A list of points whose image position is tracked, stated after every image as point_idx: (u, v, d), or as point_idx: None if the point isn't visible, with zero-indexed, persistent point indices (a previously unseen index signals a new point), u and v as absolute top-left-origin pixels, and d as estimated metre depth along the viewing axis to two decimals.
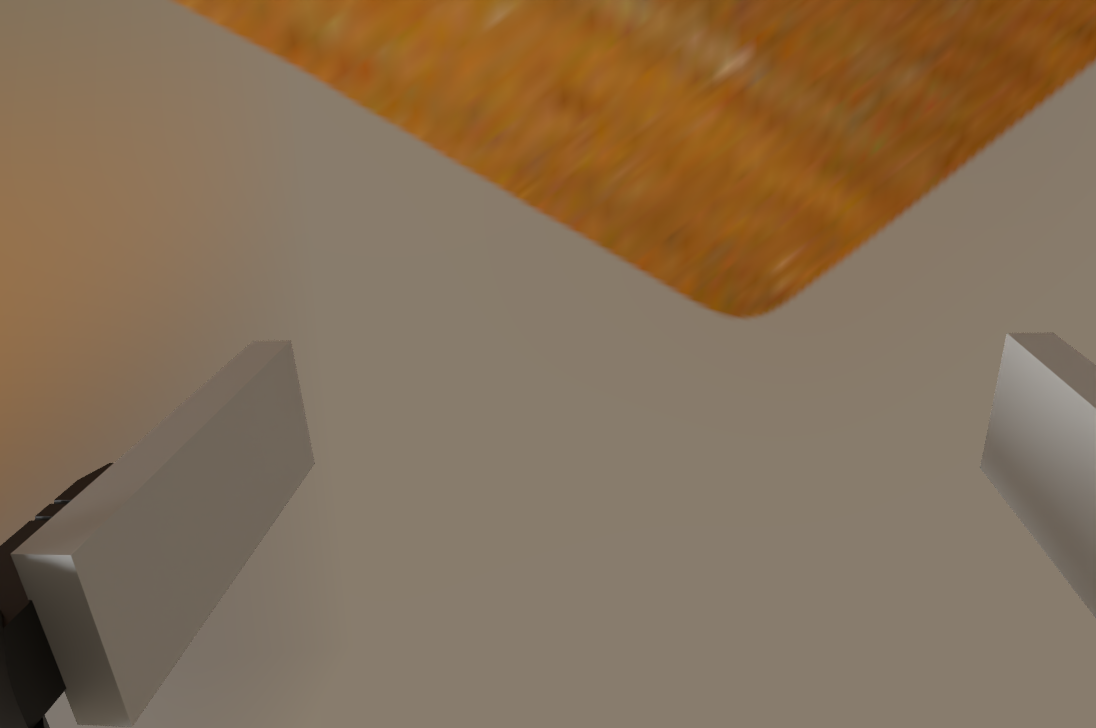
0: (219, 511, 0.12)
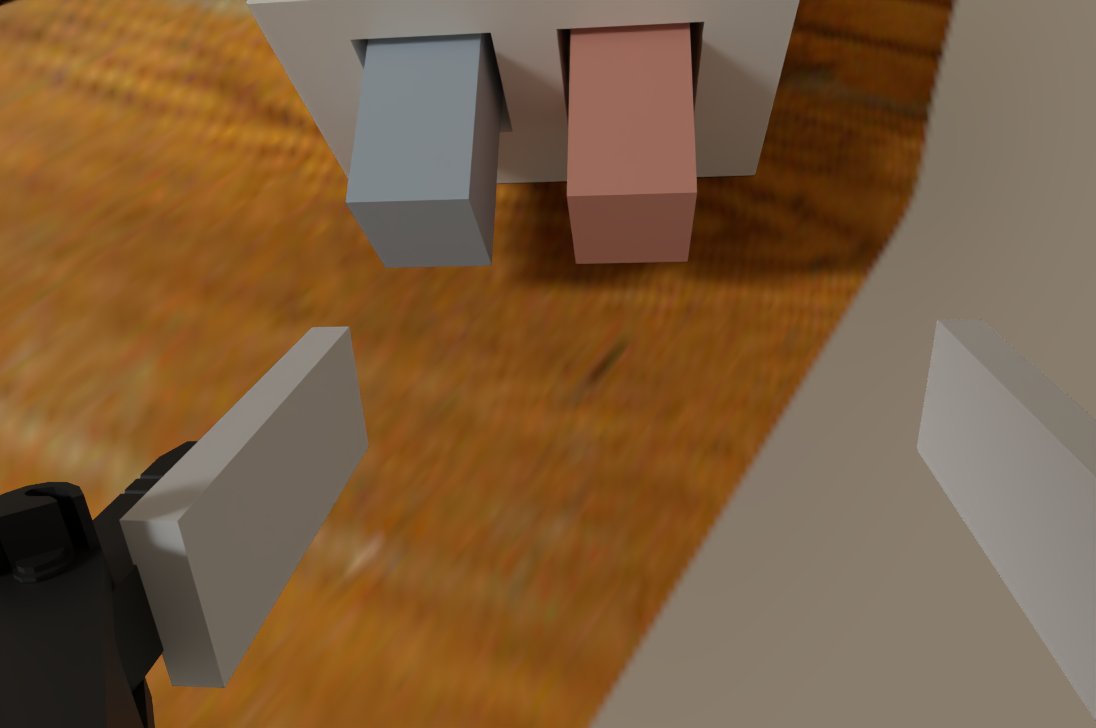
0: (292, 488, 0.13)
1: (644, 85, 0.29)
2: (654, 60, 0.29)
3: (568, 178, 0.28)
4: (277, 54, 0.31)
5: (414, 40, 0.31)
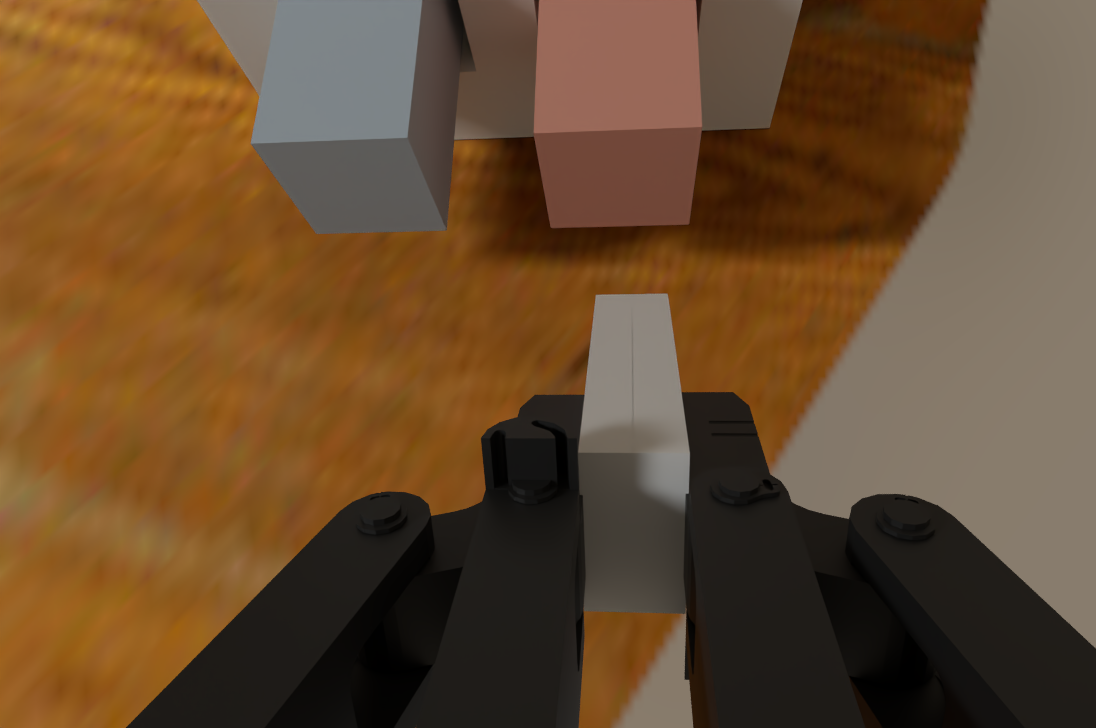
0: None
1: None
2: None
3: (536, 110, 0.22)
4: None
5: None
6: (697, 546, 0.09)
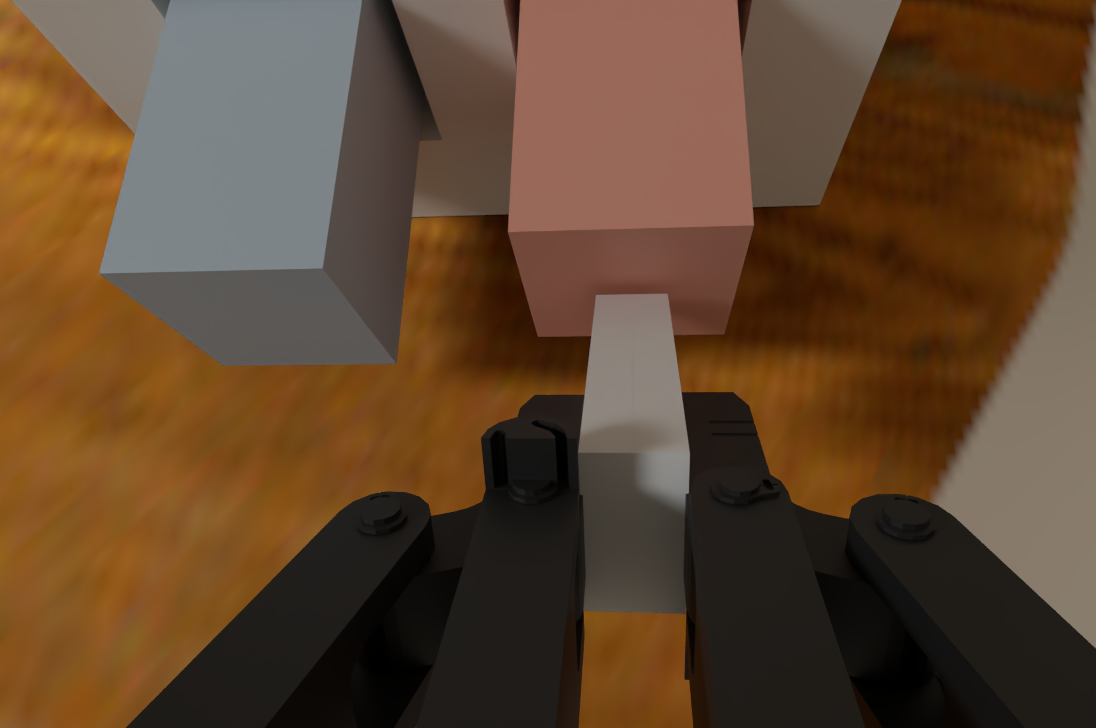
0: None
1: (652, 29, 0.16)
2: None
3: (512, 198, 0.15)
4: (22, 9, 0.18)
5: None
6: (697, 546, 0.09)
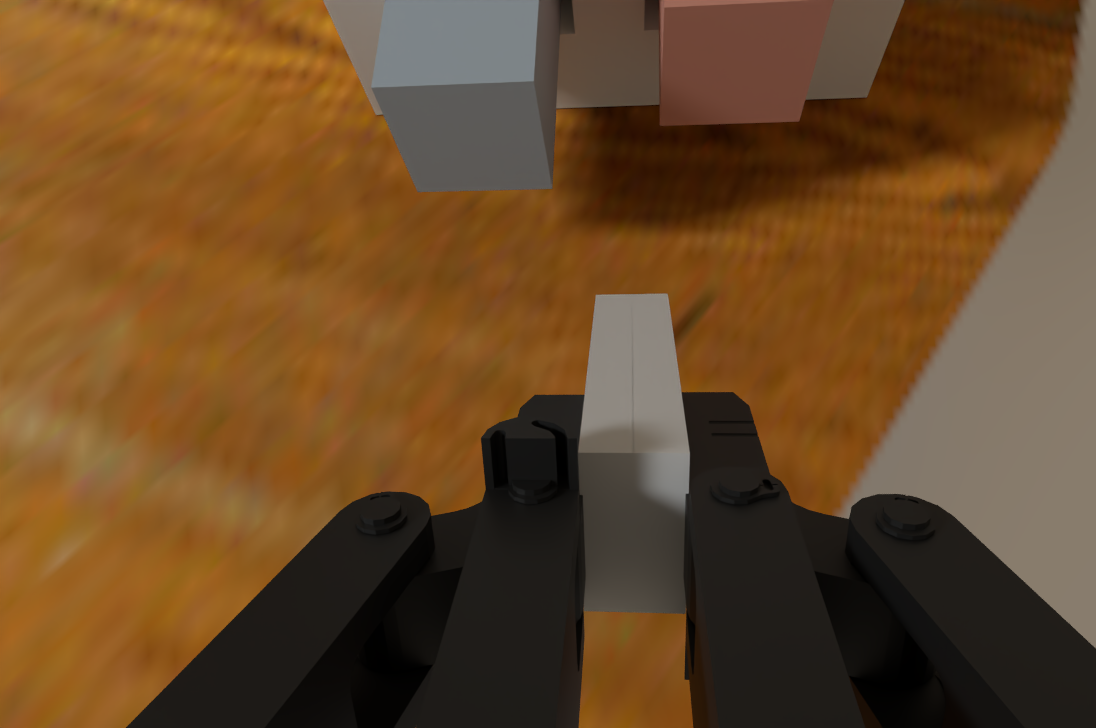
0: None
1: None
2: None
3: None
4: None
5: None
6: (697, 546, 0.09)
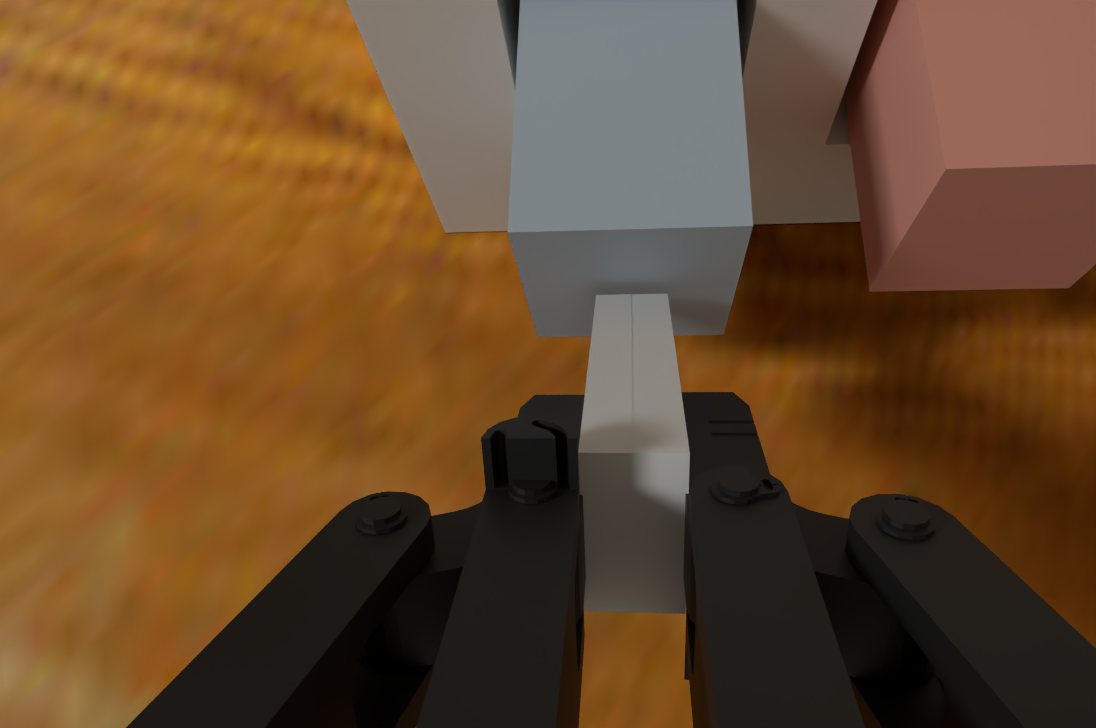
0: None
1: None
2: None
3: (943, 135, 0.15)
4: (353, 11, 0.17)
5: None
6: (697, 546, 0.09)
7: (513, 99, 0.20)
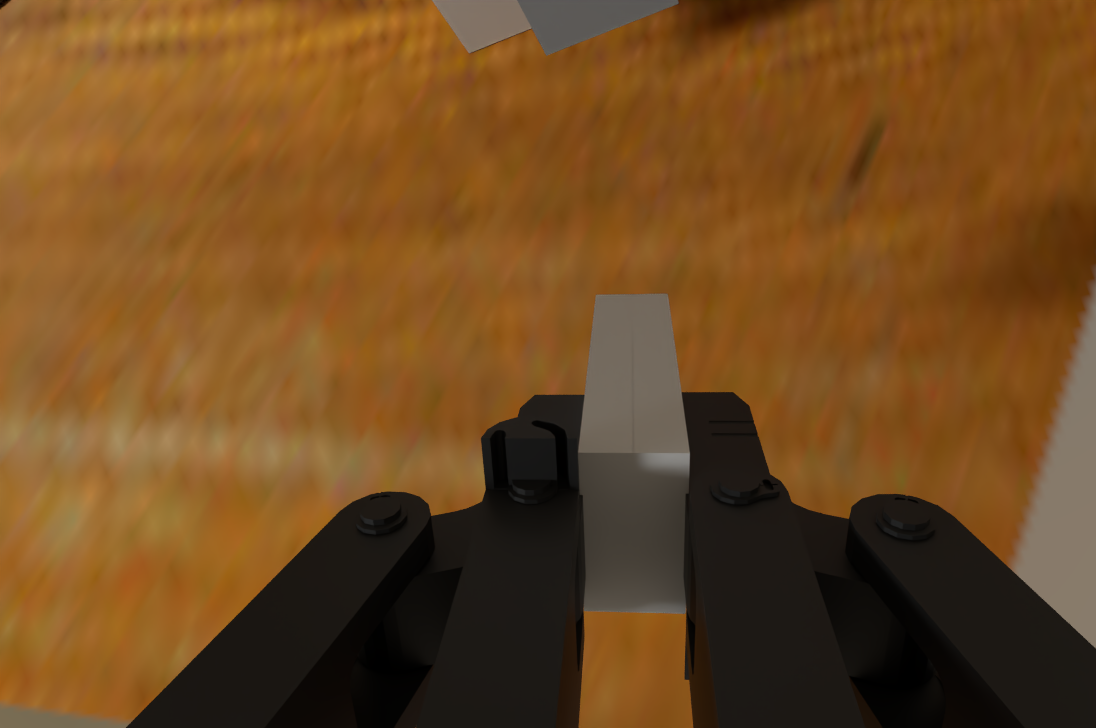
0: None
1: None
2: None
3: None
4: None
5: None
6: (697, 546, 0.09)
7: None
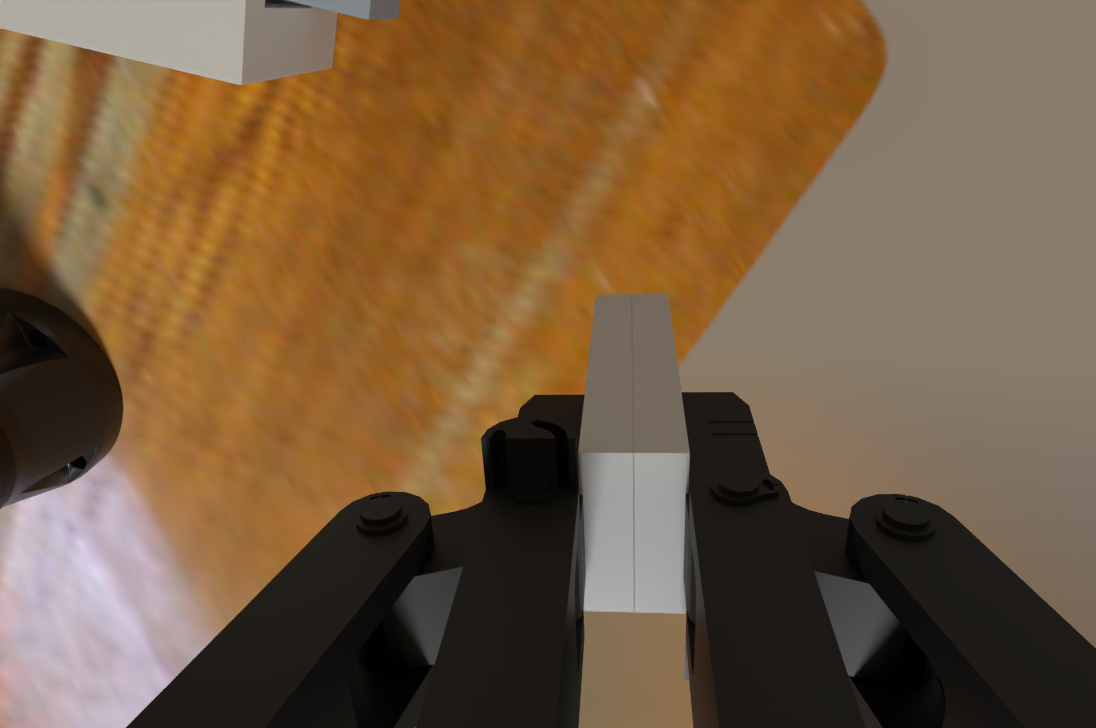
0: None
1: None
2: None
3: None
4: (265, 79, 0.38)
5: None
6: (697, 546, 0.09)
7: (295, 10, 0.39)
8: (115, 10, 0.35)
